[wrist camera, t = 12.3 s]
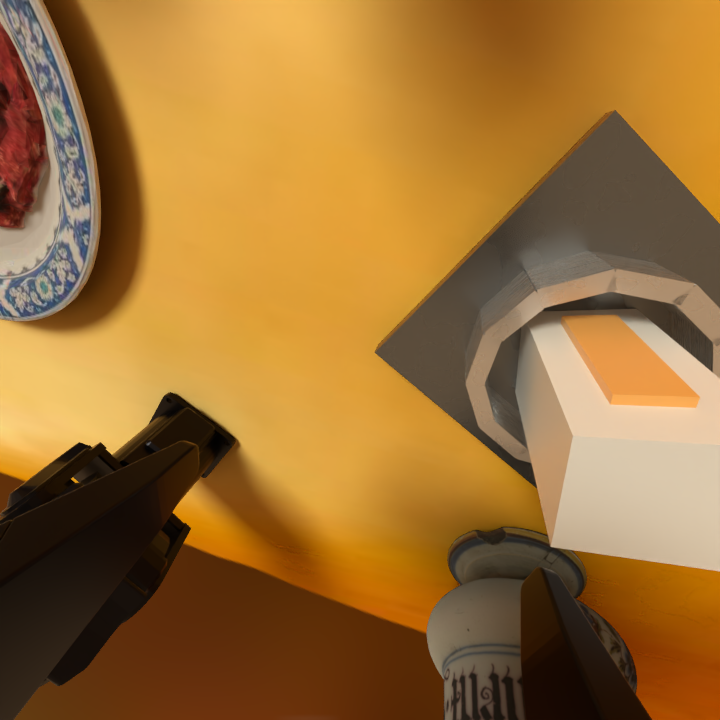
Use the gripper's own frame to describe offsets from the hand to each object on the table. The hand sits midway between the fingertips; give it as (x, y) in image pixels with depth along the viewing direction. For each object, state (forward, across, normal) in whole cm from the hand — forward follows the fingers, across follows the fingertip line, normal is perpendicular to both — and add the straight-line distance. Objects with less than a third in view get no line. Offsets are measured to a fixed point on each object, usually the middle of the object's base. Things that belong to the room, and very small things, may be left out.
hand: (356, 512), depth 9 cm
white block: (+11, -8, -1) cm, 14 cm away
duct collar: (+12, -8, -2) cm, 15 cm away
